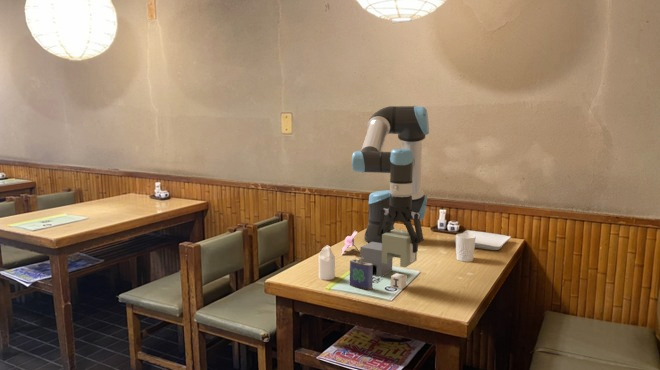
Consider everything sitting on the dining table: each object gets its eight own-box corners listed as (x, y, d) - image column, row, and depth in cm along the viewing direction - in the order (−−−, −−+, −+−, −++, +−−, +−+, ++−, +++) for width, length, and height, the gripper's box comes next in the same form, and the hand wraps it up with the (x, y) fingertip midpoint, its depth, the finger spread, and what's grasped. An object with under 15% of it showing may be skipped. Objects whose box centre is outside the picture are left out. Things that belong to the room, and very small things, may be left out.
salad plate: (500, 253, 214) (500, 246, 213) (452, 246, 225) (452, 239, 224) (511, 242, 231) (511, 235, 231) (466, 236, 242) (466, 229, 242)
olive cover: (381, 262, 170) (382, 234, 169) (393, 256, 178) (393, 228, 176) (405, 267, 166) (406, 238, 164) (416, 260, 173) (417, 232, 171)
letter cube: (390, 287, 172) (390, 276, 171) (395, 284, 175) (396, 273, 175) (400, 289, 170) (401, 278, 169) (406, 286, 173) (406, 275, 173)
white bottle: (318, 247, 177) (318, 243, 183) (318, 280, 179) (318, 274, 185) (335, 247, 177) (334, 243, 183) (335, 280, 179) (334, 274, 185)
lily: (348, 249, 222) (338, 232, 219) (371, 242, 217) (361, 224, 214) (341, 264, 212) (330, 246, 209) (364, 257, 207) (354, 239, 204)
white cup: (475, 263, 200) (476, 238, 198) (455, 261, 201) (456, 237, 200) (473, 257, 207) (474, 234, 206) (454, 256, 209) (455, 233, 207)
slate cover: (360, 272, 187) (360, 246, 186) (371, 266, 195) (371, 241, 193) (381, 277, 182) (381, 250, 181) (392, 270, 190) (392, 245, 188)
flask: (373, 288, 170) (374, 258, 169) (369, 291, 168) (369, 260, 166) (352, 283, 176) (352, 253, 174) (347, 285, 174) (347, 255, 172)
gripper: (367, 193, 171) (366, 256, 174) (426, 200, 159) (424, 267, 163) (377, 190, 177) (376, 251, 180) (435, 196, 165) (433, 261, 169)
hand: (399, 258), depth 172 cm, fingers closed on olive cover, 9 cm apart
